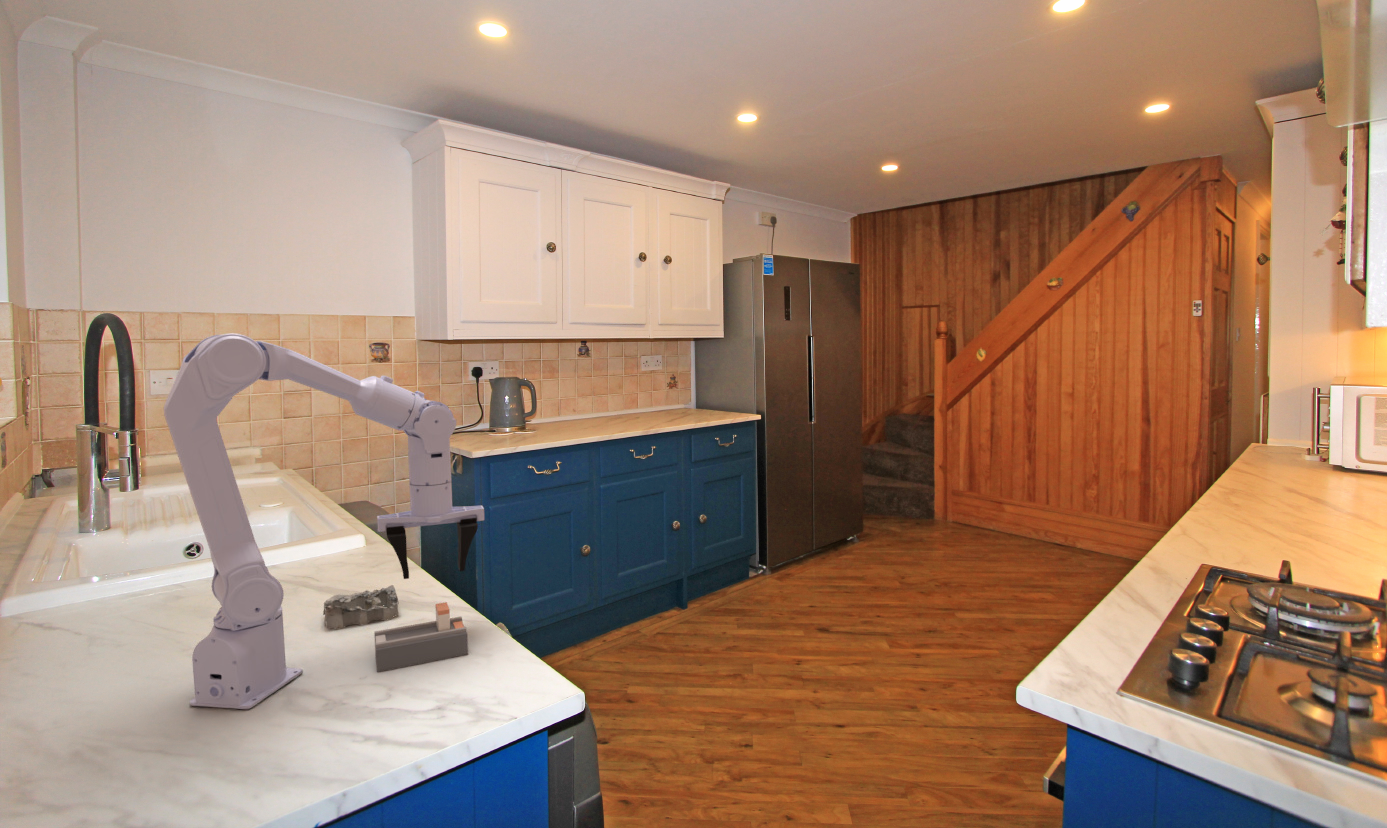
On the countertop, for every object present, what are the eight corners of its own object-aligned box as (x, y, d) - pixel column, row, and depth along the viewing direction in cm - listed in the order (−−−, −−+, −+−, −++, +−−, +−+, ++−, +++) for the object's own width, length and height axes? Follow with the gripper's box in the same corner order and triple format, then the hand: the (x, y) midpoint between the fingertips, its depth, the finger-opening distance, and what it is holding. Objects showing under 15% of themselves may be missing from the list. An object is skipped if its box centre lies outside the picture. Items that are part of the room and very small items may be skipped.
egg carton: (323, 634, 102) (321, 607, 102) (324, 616, 109) (323, 591, 108) (400, 620, 107) (398, 595, 106) (397, 604, 113) (395, 580, 113)
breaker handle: (438, 632, 94) (437, 611, 93) (436, 624, 96) (435, 603, 96) (450, 630, 94) (449, 609, 94) (447, 622, 97) (446, 602, 97)
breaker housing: (376, 672, 89) (375, 646, 89) (375, 653, 94) (374, 629, 94) (468, 654, 94) (467, 629, 94) (461, 637, 100) (460, 614, 99)
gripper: (376, 491, 92) (380, 589, 93) (486, 482, 98) (489, 573, 100) (375, 482, 98) (379, 573, 100) (478, 474, 105) (481, 560, 106)
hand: (434, 572), depth 100 cm, fingers open, 7 cm apart
